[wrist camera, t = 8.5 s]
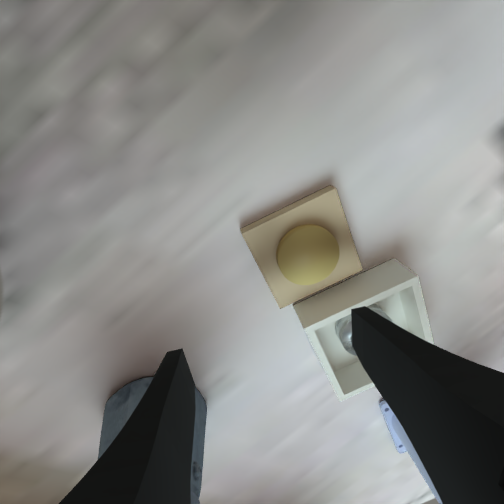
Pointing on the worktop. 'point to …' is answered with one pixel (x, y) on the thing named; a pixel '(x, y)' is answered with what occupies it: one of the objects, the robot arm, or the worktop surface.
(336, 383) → the tray
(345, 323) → the coffee tamper
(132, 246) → the worktop surface
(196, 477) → the moka pot
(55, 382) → the worktop surface
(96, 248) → the worktop surface
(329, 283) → the stud block
